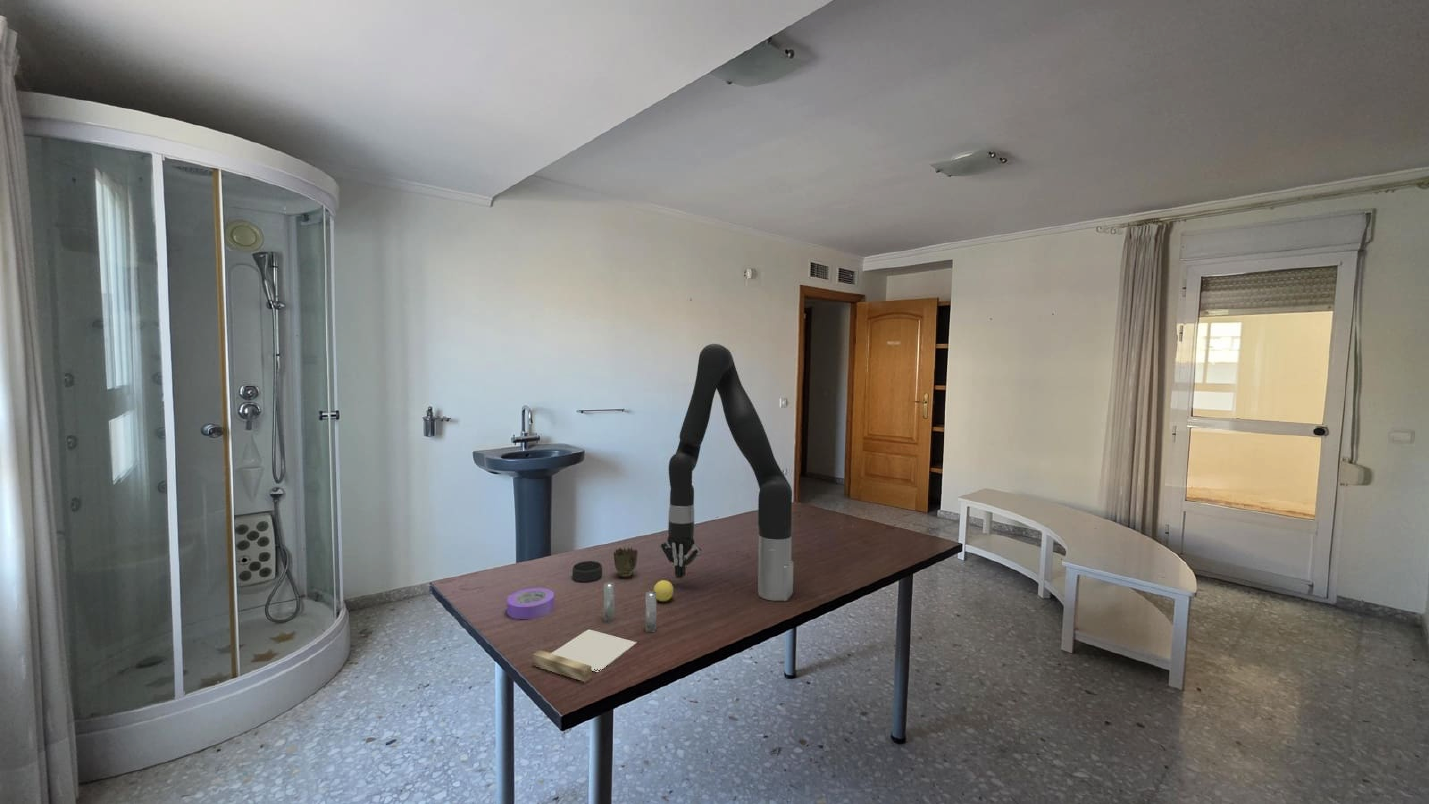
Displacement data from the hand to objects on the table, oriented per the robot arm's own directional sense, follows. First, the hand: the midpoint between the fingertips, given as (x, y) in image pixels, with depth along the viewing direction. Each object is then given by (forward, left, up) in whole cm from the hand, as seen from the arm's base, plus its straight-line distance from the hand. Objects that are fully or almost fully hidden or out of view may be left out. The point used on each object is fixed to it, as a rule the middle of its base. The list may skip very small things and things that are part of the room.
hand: (679, 577), depth 152 cm
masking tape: (+28, +31, -4) cm, 42 cm away
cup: (+20, 0, -3) cm, 20 cm away
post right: (-7, +26, -3) cm, 27 cm away
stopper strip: (0, +50, -3) cm, 50 cm away
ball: (0, +10, 0) cm, 10 cm away
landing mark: (0, +40, -3) cm, 40 cm away
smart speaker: (+30, +6, -4) cm, 30 cm away
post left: (+6, +26, -3) cm, 27 cm away
